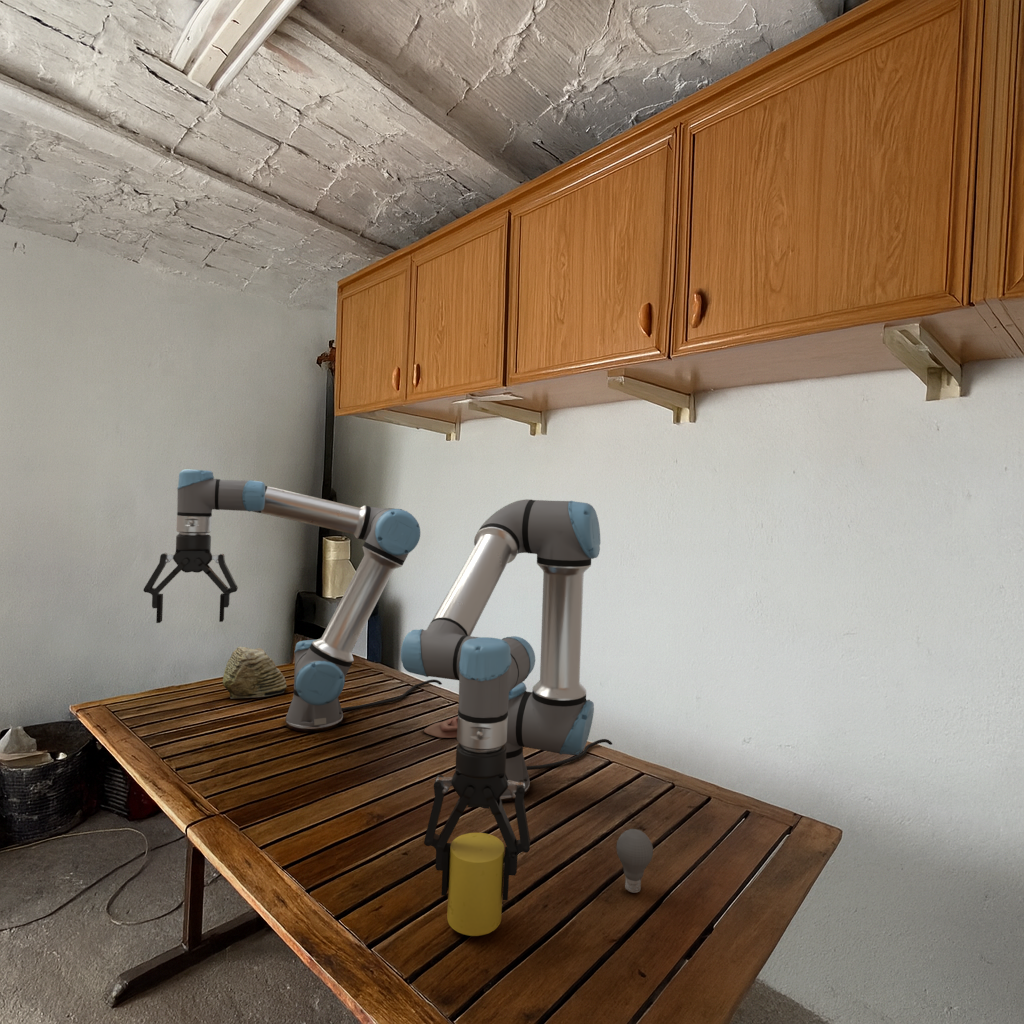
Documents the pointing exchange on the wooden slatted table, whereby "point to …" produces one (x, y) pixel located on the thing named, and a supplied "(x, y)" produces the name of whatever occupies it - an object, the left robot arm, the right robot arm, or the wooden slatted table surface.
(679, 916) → the wooden slatted table surface
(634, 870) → the light bulb
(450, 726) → the anatomical model
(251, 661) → the fossil
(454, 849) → the canister
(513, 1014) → the wooden slatted table surface
